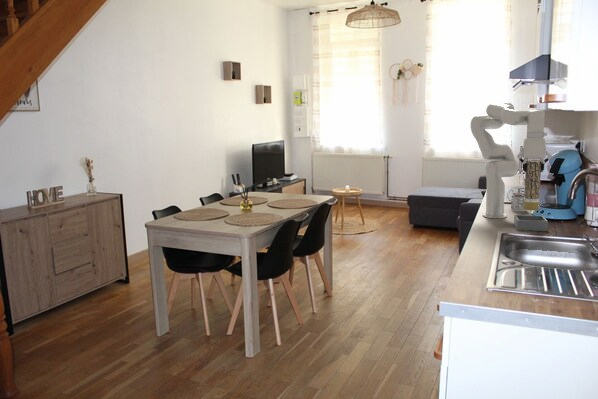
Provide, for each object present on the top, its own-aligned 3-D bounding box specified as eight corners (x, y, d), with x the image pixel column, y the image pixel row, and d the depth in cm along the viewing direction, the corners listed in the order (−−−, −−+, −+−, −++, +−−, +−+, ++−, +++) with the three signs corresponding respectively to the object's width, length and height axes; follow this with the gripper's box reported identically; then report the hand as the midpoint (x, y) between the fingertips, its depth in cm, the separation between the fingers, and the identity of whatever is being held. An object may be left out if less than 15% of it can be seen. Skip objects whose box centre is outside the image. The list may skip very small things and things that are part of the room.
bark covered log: (540, 210, 243) (543, 160, 239) (525, 210, 244) (528, 160, 240) (536, 208, 250) (539, 159, 245) (522, 208, 251) (524, 159, 247)
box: (513, 224, 257) (514, 214, 256) (542, 225, 253) (543, 215, 252) (517, 230, 244) (517, 220, 244) (547, 231, 240) (547, 221, 239)
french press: (530, 211, 290) (532, 168, 285) (510, 211, 290) (512, 169, 286) (522, 208, 299) (524, 167, 295) (503, 208, 300) (505, 167, 295)
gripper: (553, 135, 242) (551, 171, 245) (514, 135, 247) (513, 170, 250) (556, 135, 235) (553, 172, 238) (516, 136, 240) (515, 172, 243)
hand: (533, 171), depth 244 cm, fingers closed on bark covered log, 6 cm apart
